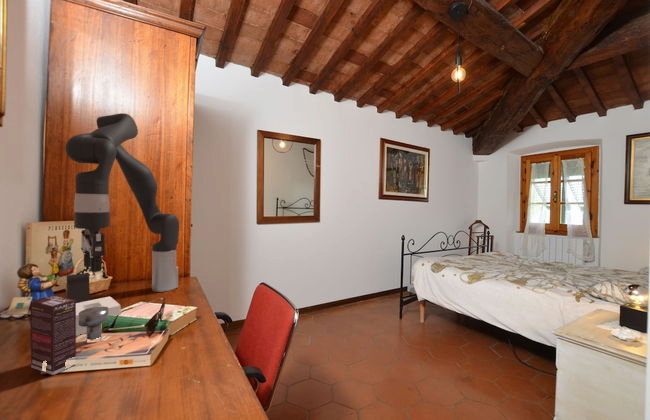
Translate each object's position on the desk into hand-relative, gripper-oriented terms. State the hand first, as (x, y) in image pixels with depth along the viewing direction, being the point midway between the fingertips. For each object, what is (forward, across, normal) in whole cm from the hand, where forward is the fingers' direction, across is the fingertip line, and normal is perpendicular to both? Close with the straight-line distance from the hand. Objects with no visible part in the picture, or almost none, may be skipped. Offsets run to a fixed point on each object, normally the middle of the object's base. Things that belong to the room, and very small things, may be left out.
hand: (92, 268), depth 78 cm
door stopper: (+20, +34, -2) cm, 40 cm away
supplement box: (+21, -8, +9) cm, 24 cm away
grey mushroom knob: (+20, 0, 0) cm, 20 cm away
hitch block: (+20, +13, -2) cm, 24 cm away
